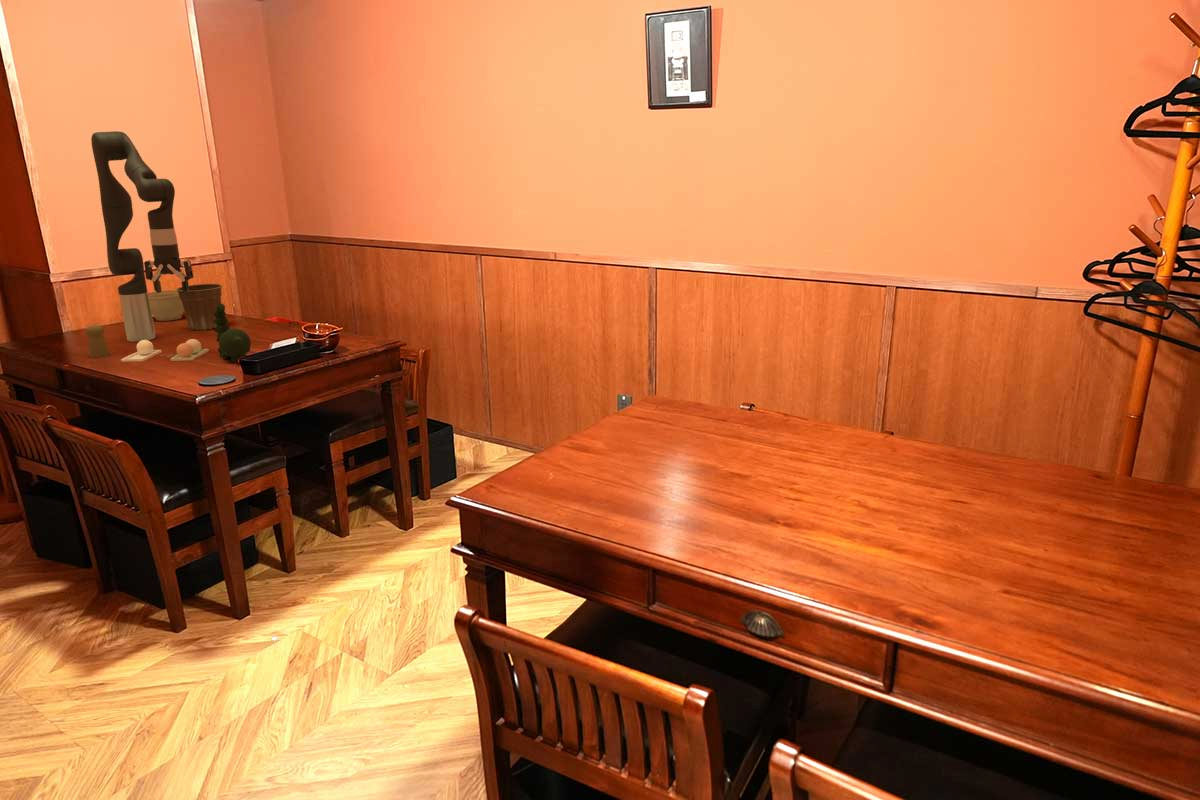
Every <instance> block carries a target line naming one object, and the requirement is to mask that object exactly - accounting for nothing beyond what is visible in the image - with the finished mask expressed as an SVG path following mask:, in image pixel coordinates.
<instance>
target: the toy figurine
mask: <svg viewBox="0 0 1200 800" xmlns="http://www.w3.org/2000/svg"><path fill="white" fill-rule="evenodd" d="M216 309H217V310H216V311H215V312H214V313H213V315H214V316H215V317H216V318H215V319H214V320H213V322H214V323H215V324H216V325H217V327H216V328H215V329H213V331H214V332H215V333H217V334H216V342H218V348H217V352H218V353H219V357H220V358H221V359H223V360H226V361H227V360H229V359H231V362H232V363H236V364H240V363H239V362H238V359H239V358H240V357H243V356H245V357H246V355H247V353H249V352H250V351H251V347H252V342H251V341H252V340H251V337H250V336H249V334H247V332H246V331H244V330H242V329H240V328H231V327H230V326H229V324H228V318H227V316H226V306H225V304H224V303H222V302H221V303H220V304H218V305H217V307H216Z"/></svg>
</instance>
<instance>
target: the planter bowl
mask: <svg viewBox="0 0 1200 800" xmlns="http://www.w3.org/2000/svg"><path fill="white" fill-rule="evenodd" d="M148 298H149V303H150V309H151V312H152V316H153V317H154V318H155V320H156V321H159V322H160V321H161V322H162V321H163V322H166V321H167V322H169V321H176V320H180V319H182V317H183V315H182V314H183V313H185V311H184V308H183V304H182V301H181V300H180V297H179V294H178V291H176V289H173V290H169V289H168V290H162V292H160V293H157V292H156V291H150V292H148Z"/></svg>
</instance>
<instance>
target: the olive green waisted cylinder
mask: <svg viewBox="0 0 1200 800" xmlns="http://www.w3.org/2000/svg"><path fill="white" fill-rule="evenodd" d="M104 332H105V329H104V327H103V326H102V325H100V324H94V325H93V324H92V325H88V326H87V327H86V328H85V334H86V335H87V336H88V351H89V353H88V354H89V358H90V359H101V358H102V359H103V358H108V357H109V356H110V355H111V354H110V352H109V349H108V346H107V342H106V340H105V338H104V335H103V334H104Z"/></svg>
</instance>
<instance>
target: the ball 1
mask: <svg viewBox="0 0 1200 800" xmlns="http://www.w3.org/2000/svg"><path fill="white" fill-rule="evenodd" d="M137 342H138V343H137V344H136V351H137V352H139V353H141V354H144V355H147V354H150V353H151V352H152V351H153V350H154V345H153V343H152V342H151V340H141V341H137Z"/></svg>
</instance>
